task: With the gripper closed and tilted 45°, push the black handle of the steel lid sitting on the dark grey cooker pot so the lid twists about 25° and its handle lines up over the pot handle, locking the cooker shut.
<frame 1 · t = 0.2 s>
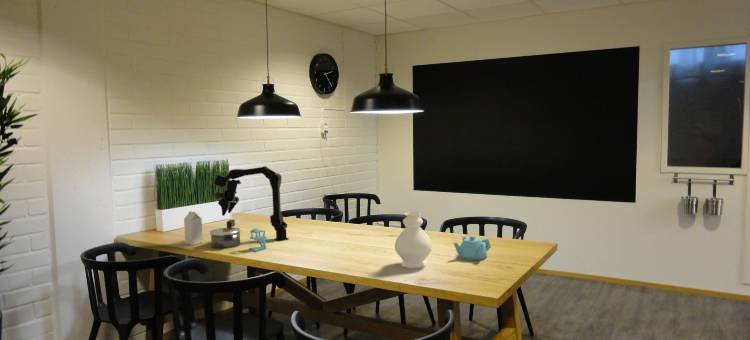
hand: (226, 214, 320), 16 cm above the table, tool tilted 15°, fingers open, 9 cm apart
cooker lid: (226, 227, 309), point 10 cm above the table, hinge at -25.0°
teapot: (472, 257, 265), on the table
milk carton: (194, 243, 314), on the table
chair: (258, 250, 294), on the table
decorative vase: (413, 265, 254), on the table
cooker pot: (226, 245, 306), on the table
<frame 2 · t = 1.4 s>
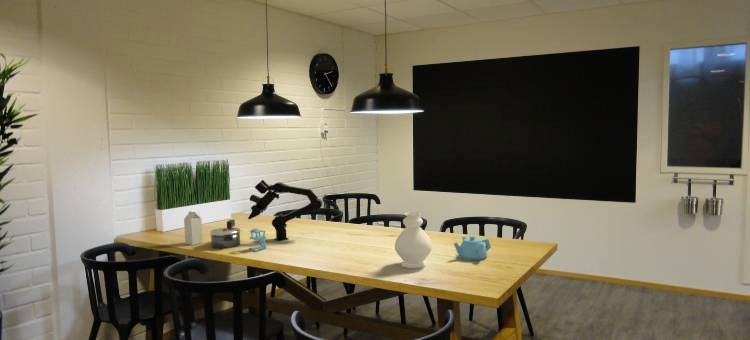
hand: (249, 218, 317), 14 cm above the table, tool tilted 45°, fingers open, 6 cm apart
nothing on the table moved.
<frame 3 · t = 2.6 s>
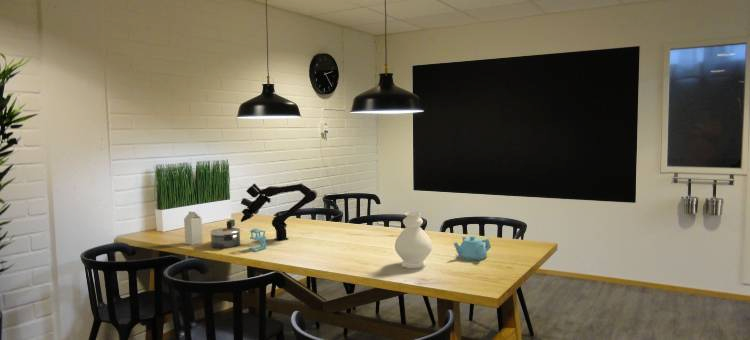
hand: (241, 221, 318), 12 cm above the table, tool tilted 45°, fingers closed
nothing on the table moved.
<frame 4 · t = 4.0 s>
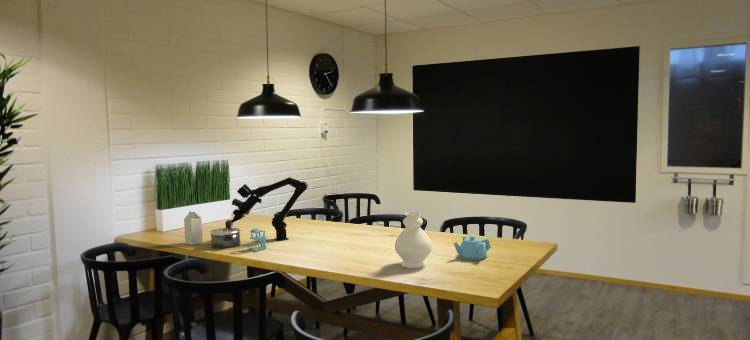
hand: (232, 222, 318), 11 cm above the table, tool tilted 45°, fingers closed, pressing on cooker lid
cooker lid: (226, 227, 309), point 10 cm above the table, hinge at -20.0°, touching gripper
everything else where it was.
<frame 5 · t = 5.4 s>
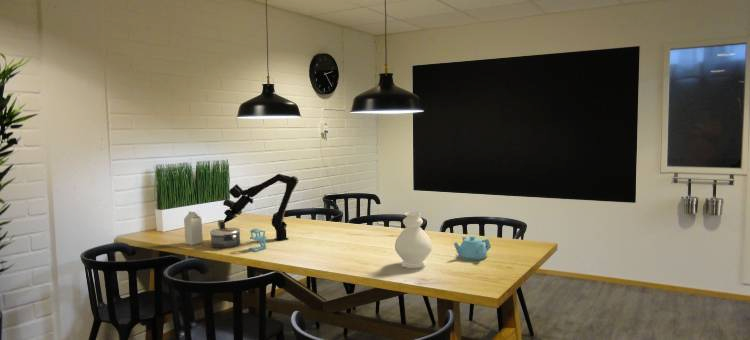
hand: (223, 222, 318), 11 cm above the table, tool tilted 45°, fingers closed
cooker lid: (224, 227, 308), point 10 cm above the table, hinge at 2.3°, touching gripper
everything else where it was.
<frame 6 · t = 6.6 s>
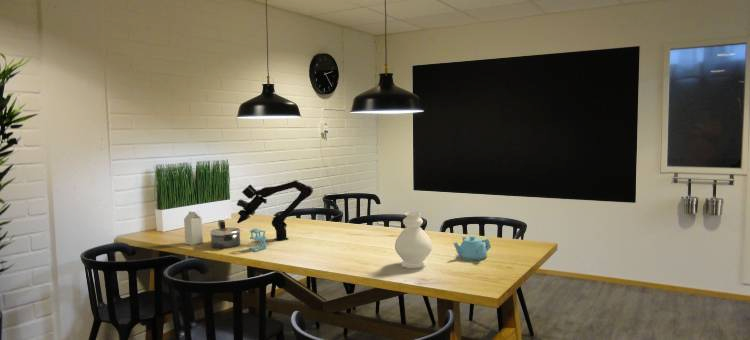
hand: (237, 222, 318), 11 cm above the table, tool tilted 45°, fingers closed
cooker lid: (224, 227, 308), point 10 cm above the table, hinge at 1.7°
everything else where it was.
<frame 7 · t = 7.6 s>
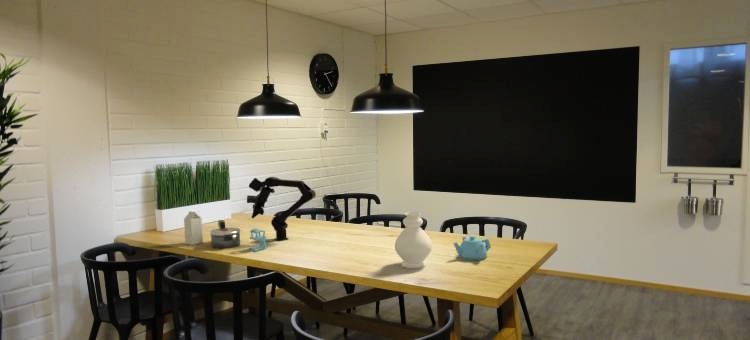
hand: (252, 217, 320), 13 cm above the table, tool tilted 30°, fingers closed
nothing on the table moved.
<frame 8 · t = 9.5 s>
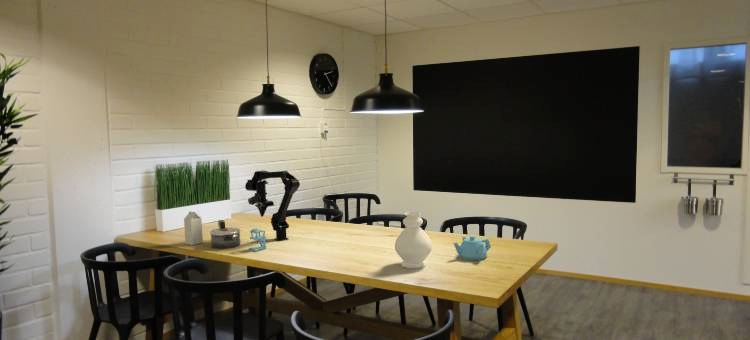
hand: (262, 216, 324), 13 cm above the table, tool pointing down, fingers closed
nothing on the table moved.
at the end: cooker lid at +2° (first picture: -25°); milk carton moved 0.2 cm from its start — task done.
